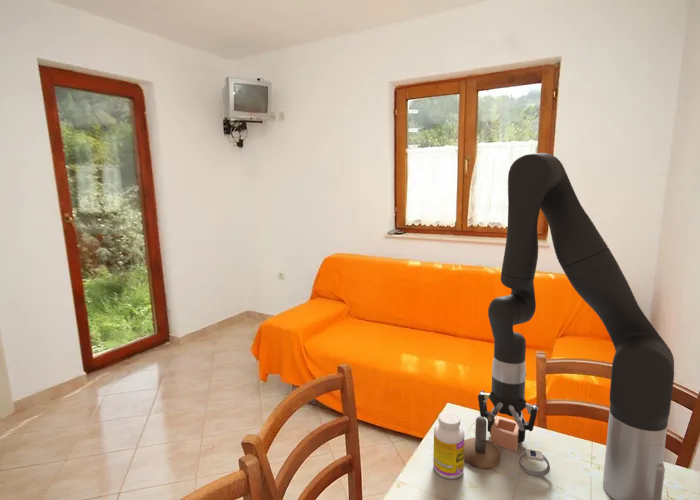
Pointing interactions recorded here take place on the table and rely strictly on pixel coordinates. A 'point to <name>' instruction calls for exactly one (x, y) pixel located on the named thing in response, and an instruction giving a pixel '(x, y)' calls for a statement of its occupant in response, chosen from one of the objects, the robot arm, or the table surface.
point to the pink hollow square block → (505, 433)
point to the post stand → (481, 449)
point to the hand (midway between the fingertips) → (505, 437)
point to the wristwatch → (535, 456)
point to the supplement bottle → (448, 446)
